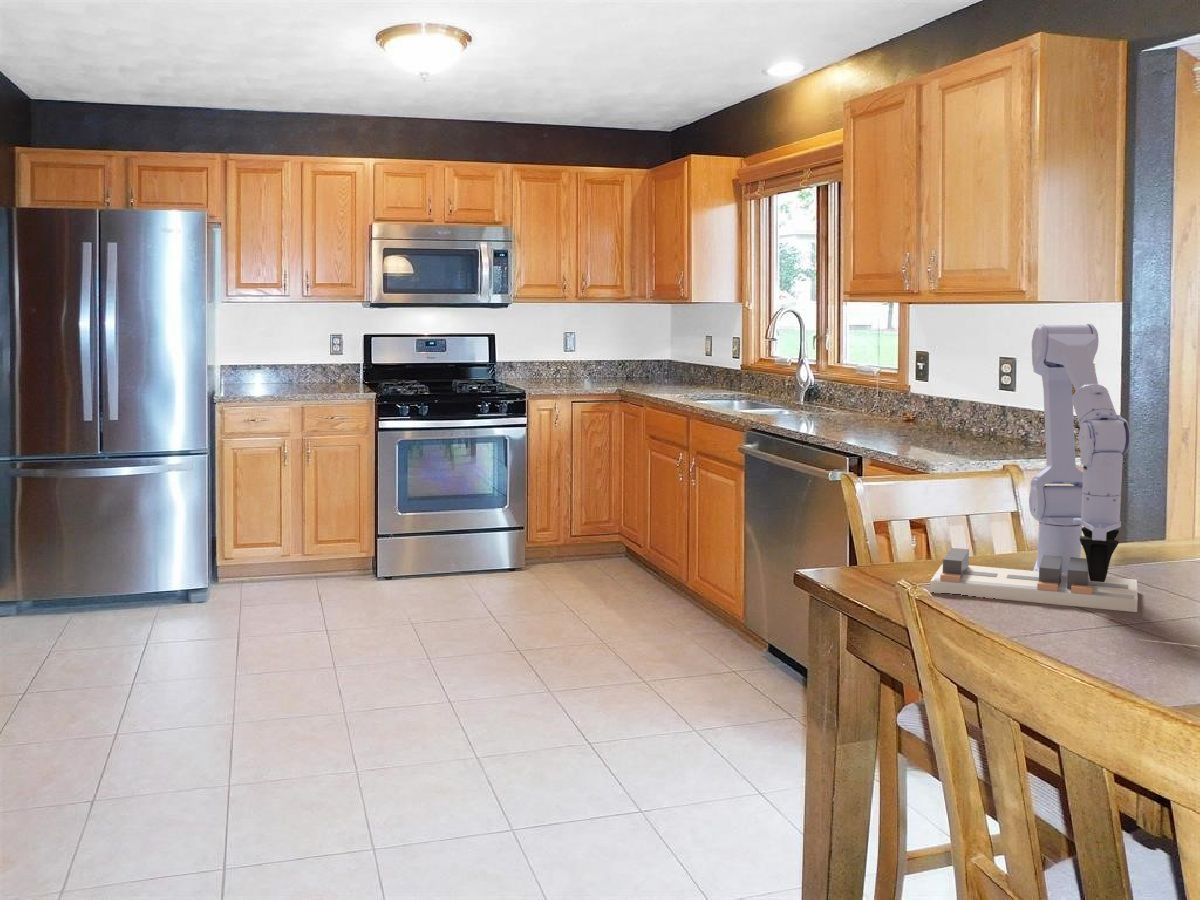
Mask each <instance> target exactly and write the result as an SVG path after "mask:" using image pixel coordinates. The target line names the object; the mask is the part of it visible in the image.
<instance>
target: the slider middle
mask: <svg viewBox="0 0 1200 900" xmlns="http://www.w3.org/2000/svg"><path fill="white" fill-rule="evenodd" d="M1061 575H1062V557H1061V556H1049V555H1043V558H1042V561H1041V564H1040V567H1039V582H1049V583H1058V587H1059V583H1060V579H1061Z"/></svg>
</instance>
